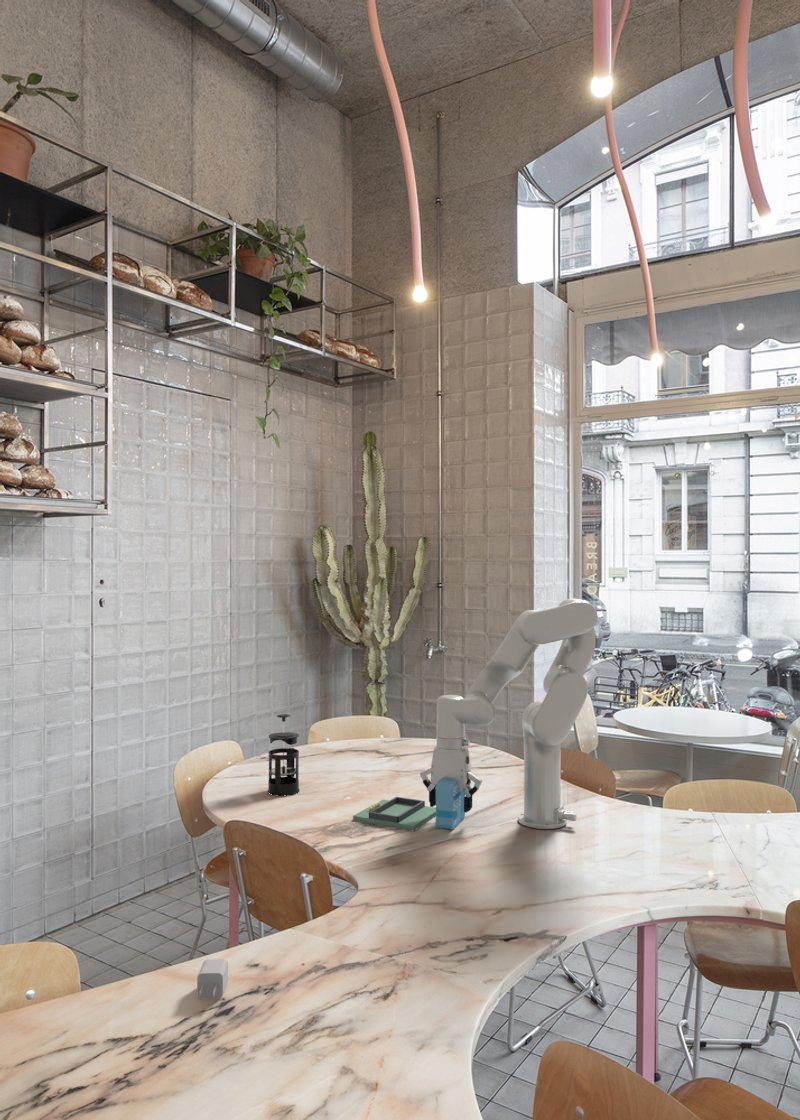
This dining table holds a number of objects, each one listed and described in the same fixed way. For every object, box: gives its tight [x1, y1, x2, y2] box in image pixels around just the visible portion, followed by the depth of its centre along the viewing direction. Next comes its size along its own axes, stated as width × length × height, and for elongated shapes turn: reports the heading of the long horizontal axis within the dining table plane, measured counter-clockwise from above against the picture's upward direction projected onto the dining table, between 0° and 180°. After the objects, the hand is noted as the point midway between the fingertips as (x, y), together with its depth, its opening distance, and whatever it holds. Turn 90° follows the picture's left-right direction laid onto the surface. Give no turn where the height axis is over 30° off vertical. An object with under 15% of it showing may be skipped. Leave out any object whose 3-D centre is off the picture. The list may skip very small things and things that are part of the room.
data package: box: [435, 779, 466, 831], centre depth 209 cm, size 12×4×12 cm, turn 159°
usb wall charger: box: [196, 958, 229, 999], centre depth 125 cm, size 4×7×4 cm, turn 2°
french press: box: [267, 713, 300, 797], centre depth 238 cm, size 12×9×23 cm
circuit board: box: [352, 796, 436, 832], centre depth 214 cm, size 18×16×3 cm
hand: (450, 808), depth 209 cm, fingers open, 9 cm apart
